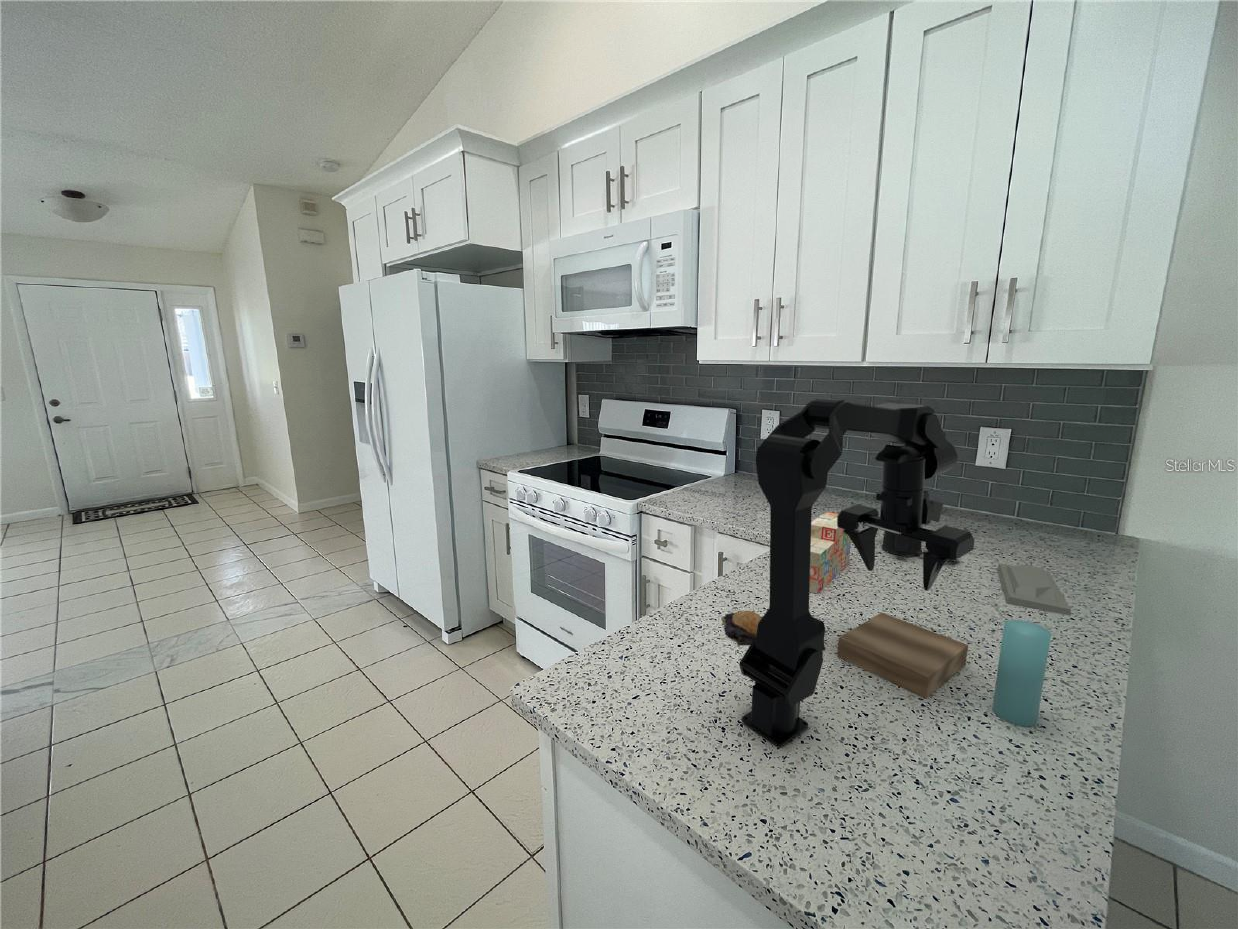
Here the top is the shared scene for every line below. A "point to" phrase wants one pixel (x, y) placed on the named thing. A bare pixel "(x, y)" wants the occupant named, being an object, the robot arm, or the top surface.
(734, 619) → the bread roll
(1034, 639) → the teal post
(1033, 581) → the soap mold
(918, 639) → the walnut plinth
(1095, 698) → the top surface
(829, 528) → the stack of blocks
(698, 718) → the top surface
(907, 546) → the milk frother
